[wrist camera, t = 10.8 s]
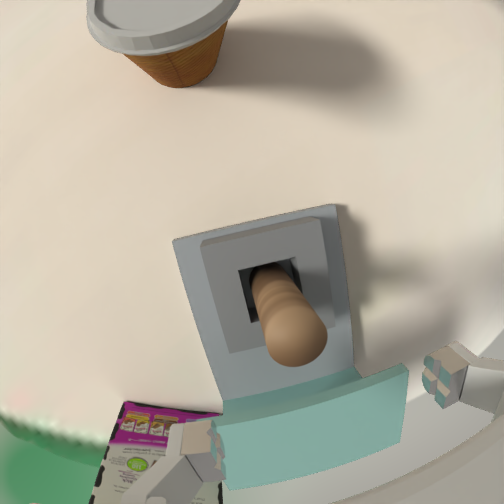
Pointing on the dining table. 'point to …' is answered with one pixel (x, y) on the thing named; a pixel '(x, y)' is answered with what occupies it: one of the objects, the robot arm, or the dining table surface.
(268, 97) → the dining table surface
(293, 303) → the walnut dowel
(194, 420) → the candy bar box
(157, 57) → the disposable coffee cup
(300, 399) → the socket station
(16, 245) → the dining table surface
